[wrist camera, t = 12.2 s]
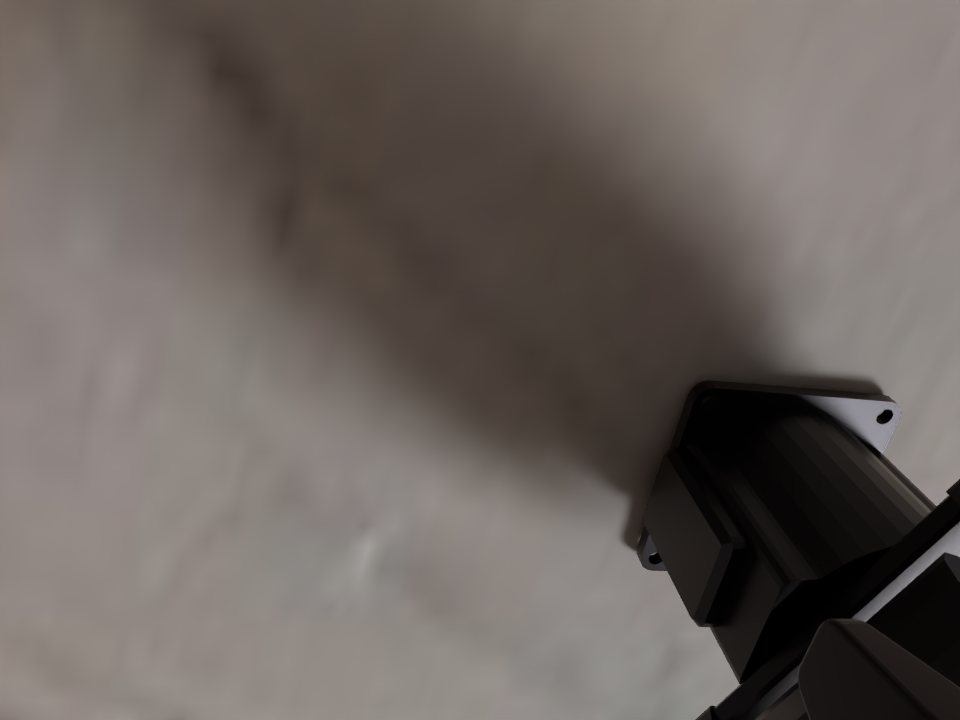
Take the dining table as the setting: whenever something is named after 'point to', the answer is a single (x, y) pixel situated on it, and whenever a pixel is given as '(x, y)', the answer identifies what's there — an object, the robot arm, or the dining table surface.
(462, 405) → the dining table surface
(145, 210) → the dining table surface
